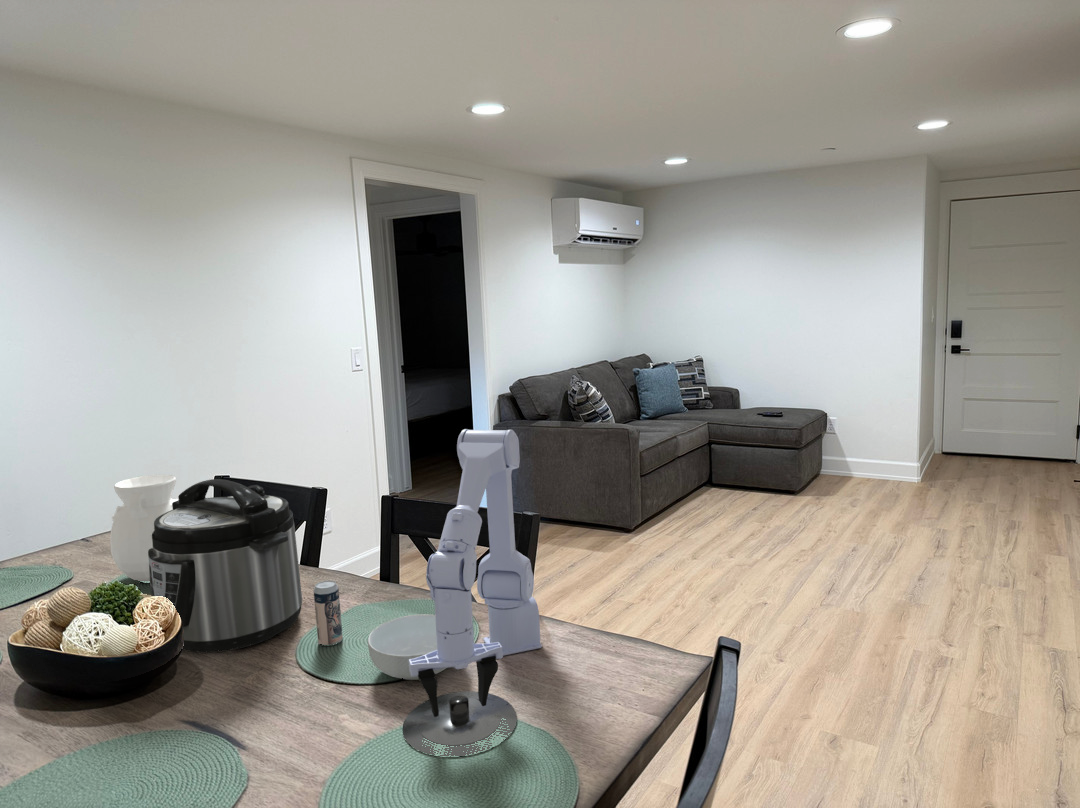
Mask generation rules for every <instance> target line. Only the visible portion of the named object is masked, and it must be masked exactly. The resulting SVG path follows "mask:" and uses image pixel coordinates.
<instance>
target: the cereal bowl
mask: <svg viewBox="0 0 1080 808" xmlns="http://www.w3.org/2000/svg"><path fill="white" fill-rule="evenodd" d="M367 648H368V654H369V657H370V660H371V662H372V663H373V665H374V666H375V668H377V670H379V671H381V673H383V674H385V675H387V676H390V677H393V678H396V679H402V678H403V680H407V681H415V680H416V681H417V680H419V678H418V676H413V677H412V676H411V674H410V671H409V659H414V658H417V657H420V656H423V655H425V654H428V653H430V652H433V651H436V650H437V636H436V619H435V614H426V613H425V614H424V613H423V614H410V615H404V616H400V617H396V618H393V619H391V620H388V621H385V622H383V623H381V624H379V625H378V626H377V627H375V628H374V629H373V630H371V632H370V633H369V635H368V638H367ZM448 668H449V667H447V668H442V669H437V670H433V671H434V673H435V675H436V674H439V673H440V672H442V671H444V670H446V669H448Z"/></svg>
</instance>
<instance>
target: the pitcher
mask: <svg viewBox="0 0 1080 808" xmlns="http://www.w3.org/2000/svg"><path fill="white" fill-rule="evenodd" d="M176 482H177V478H176V476H175V475H173V474H148V475H141V476H136V477H130V478H127V479H123V480H120V481H118V482H116V483H115V485H114V487H113V488H114V491H115V494H116V495H117V497H119V499H120V500H121V502H122V503H123V504H122V506H119V505H118V506H116V510H115V512H114V514H113V516H112V517H111V520H112V524H111V529H110V534H109V535H110V536H109V537H110V539H109V541H110V543H109V547H110V552H111V558H112V559H113V562H114V564H115V565H116V567H117V569H118V571H119V572H121V573H122V574H124V575H125V576H126V577H127V578H130V579H132V580H134V581H135V580H138V581H150V575H149V558H148V550H149V549H151V548H153V543H152V533H153V532H154V521H155V520H156V518H158V517H159V516H161V515H162V514H164V513H166V512H168V511H171V510H173V506H172V503H173V502H175V501H178V500H179V498H175V499H173V498H172V494H173V492H174V489H175V486H176Z"/></svg>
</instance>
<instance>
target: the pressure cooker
mask: <svg viewBox="0 0 1080 808" xmlns="http://www.w3.org/2000/svg"><path fill="white" fill-rule="evenodd" d="M210 487H213V488H215V489H219V490H221V491H223V492H226V493H228V494H230V496H219V497H218V496H217V497H216V496H214V497H206V496H207V493H208V491H209V488H210ZM177 499H178V501H175V502H173V503H172V506H173V510H171V511H168V512H166V513H164V514H162V515H161V516H159V517H158V518H156V520H155V521H154V532H153V533H152V543H153V548H151V549H149V550H148V558H149V575H150V584H149V586H150V587H149V588H150V597H151V596H163V597H166V598H168V599H169V600H170V601H171V602H172V603H173V605H174V606H175V608H176V610H177V612H178V613H179V615H180V617H181V619H182V624H183V629H184V646H183V651H187V652H191V653H192V652H193V653H198V652H199V653H202V654H203V653H219V652H226V651H233V650H237V649H239V650H240V649H243V648H246V647H250V646H254V645H256V644H259V643H262V642H266V641H268V640H270V639H271V638H273V637H274V636H276V635H277V634H279V633H281V632H283V631H285V630H287V629H289V628H291V626H293V625H294V624H295V623H296V621H298V618H299V616H300V613H301V611H302V604H303V593H302V585H301V575H300V574H301V573H300V565H299V555H298V548H297V546H298V545H297V539H296V538H297V537H296V528H295V522H294V514H293V511H292V510H291V509H290V506H289V502H288V500H287V499H285V498H283V497H281V496H277V495H269V494H268V495H267V494H265V490H264V488H263V487H262V486H260V485H258V484H253V485H249V486H246V485H243V484H241V483H238V482H235V481H231V480H228V479H222V478H221V479H220V478H218V479H217V478H215V479H213V478H212V479H207V480H206V479H205V480H202V481H199V482H196V483H195V484H193V485H191V486H189V487H187V488H186V489H184V490H183V491H182V492H181V493H180V494H179V495H178V498H177Z"/></svg>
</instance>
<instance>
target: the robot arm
mask: <svg viewBox="0 0 1080 808" xmlns="http://www.w3.org/2000/svg"><path fill="white" fill-rule="evenodd" d="M456 443H457V444H456V452H457V457H458V460H459V461H458V462H459V465H460V467H461V470H462V471H461V472H462V473H461V477H460V484H459V491H458V496H457V500H456V501H457V502H456V506H455V507H454V508H452V509H450V510H449V511H448V512H447V514H446V518H445V522H444V525H443V529H442V533H441V535H440V536H441V537H440V539H439V542H438V543H439V544H438V547H437V551H435V553H432V554H431V555H430V556H429V558H428V561H427V565H426V574H425V579H426V584H427V587H428V588H429V590H430V593H429V594H430V599H431V600H433V601H434V615H435V619H436V636H437V650H436V651H433V652H430V653H428V654H425V655H423V656H420V657H417V658H414V659H409V671H410V674H411V676H412V677H413V676H418V678H419V679H418V680H419V682H420V684H421V686H422V687H423V689H424V691H425V692H426V694H427V696H428V700H430V704H431V709H432V713H433V715H434V717H437V716H439V710H438V702H437V696H438V680H437V677H436V674H435V673H434V671H433V670H437V669H442V668H446V669H448V668H454V669H455V670H461V669H465V668H466V669H467V668H469V664H471V663H475V664H476V671H477V692H478V696H479V701H480V703H481V705H482V706H486V703H487V697H488V693H489V691H490V689H491V685H492V682H493V680H494V678H495V676H496V674H497V672H498V670H499V663H498V661H497V660H500V659H503V657H504V656H508V655H513V654H518V653H523V652H528V651H532V650H537V649H541V648H543V645H542V643H541V628H540V627H541V624H540V610H539V606H538V603H537V600H536V598H535V597H534V596H533V594H534V593H533V592H534V584H535V580H534V573H533V570H532V564H531V559H530V558H528V557H527V556H525V555H523V554H522V553H521V552H519V551H518V550H517V549H516V540H515V539H516V538H515V535H516V534H515V521H514V520H515V519H514V506H513V504H514V502H513V488H512V487H513V484H512V472H513V470H516V469H519V468H520V460H521V458H520V457H521V455H520V441H519V437H518V436H517V433H516V432H515V430H513V429H506V430H505V429H503V430H502V429H500V430H499V429H498V430H497V429H494V430H493V429H468V428H464V429H462V430H461V432H460V433H459V435H458V438H457V442H456ZM484 494H486V496H485V497H486V510H487V525H488V529H487V530H488V541H489V553H488V554H486V555H485V556H484V557H483V558H482V559H481V560H480V562H479V563H478V564H479V565H478V570H477V561H478V560H477V559H478V558H477V557H478V554H477V553H476V548H477V545H478V541H479V536H480V532H481V529H482V528H481V527H482V523H483V519H482V517H481V515H480V514H479V513H478V512H479V510H480V506H481V503H482V500H483V498H484ZM477 571H478V572H477ZM476 574H478V575H477V580H476ZM475 580H476V587H477V593H478V595H479V597H480V598H481V599H482V600H484V604H485V605H487V612H488V613H487V616H488V617H487V619H488V631H489V632H488V633H489V636H485V637H483V642H484V643H475V638H474V623H473V622H474V621H473V618H474V617H473V604H472V603H473V602H472V600H473V599H472V588H473V586H474V584H475ZM447 667H448V668H447Z"/></svg>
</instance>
